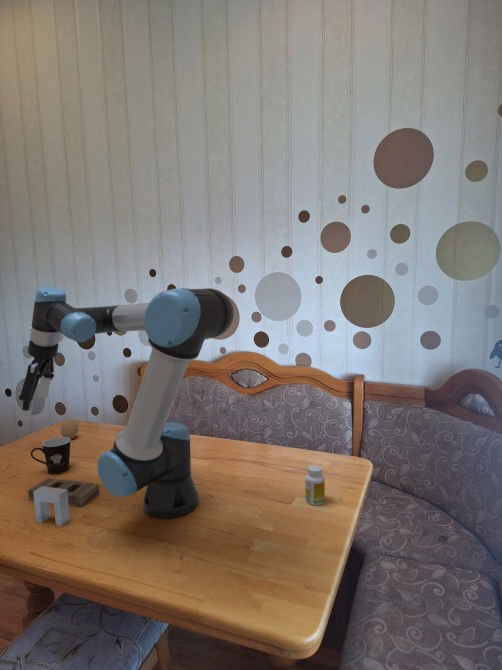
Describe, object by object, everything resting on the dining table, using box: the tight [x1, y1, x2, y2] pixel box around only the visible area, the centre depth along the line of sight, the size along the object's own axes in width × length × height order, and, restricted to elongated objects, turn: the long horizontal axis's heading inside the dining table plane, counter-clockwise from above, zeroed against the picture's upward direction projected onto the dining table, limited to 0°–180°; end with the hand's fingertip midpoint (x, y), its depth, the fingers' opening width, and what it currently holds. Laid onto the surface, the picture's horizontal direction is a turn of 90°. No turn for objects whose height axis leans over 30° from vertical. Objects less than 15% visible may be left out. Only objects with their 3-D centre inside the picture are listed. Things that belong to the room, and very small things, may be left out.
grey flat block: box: [27, 477, 100, 508], centre depth 124 cm, size 18×8×3 cm, turn 75°
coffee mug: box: [30, 436, 72, 475], centre depth 143 cm, size 12×9×10 cm
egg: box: [60, 418, 79, 440], centre depth 172 cm, size 6×6×8 cm
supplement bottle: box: [304, 464, 326, 506], centre depth 119 cm, size 5×5×10 cm
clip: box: [33, 486, 70, 527], centre depth 111 cm, size 8×3×8 cm, turn 75°
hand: (34, 407), depth 125 cm, fingers open, 13 cm apart
